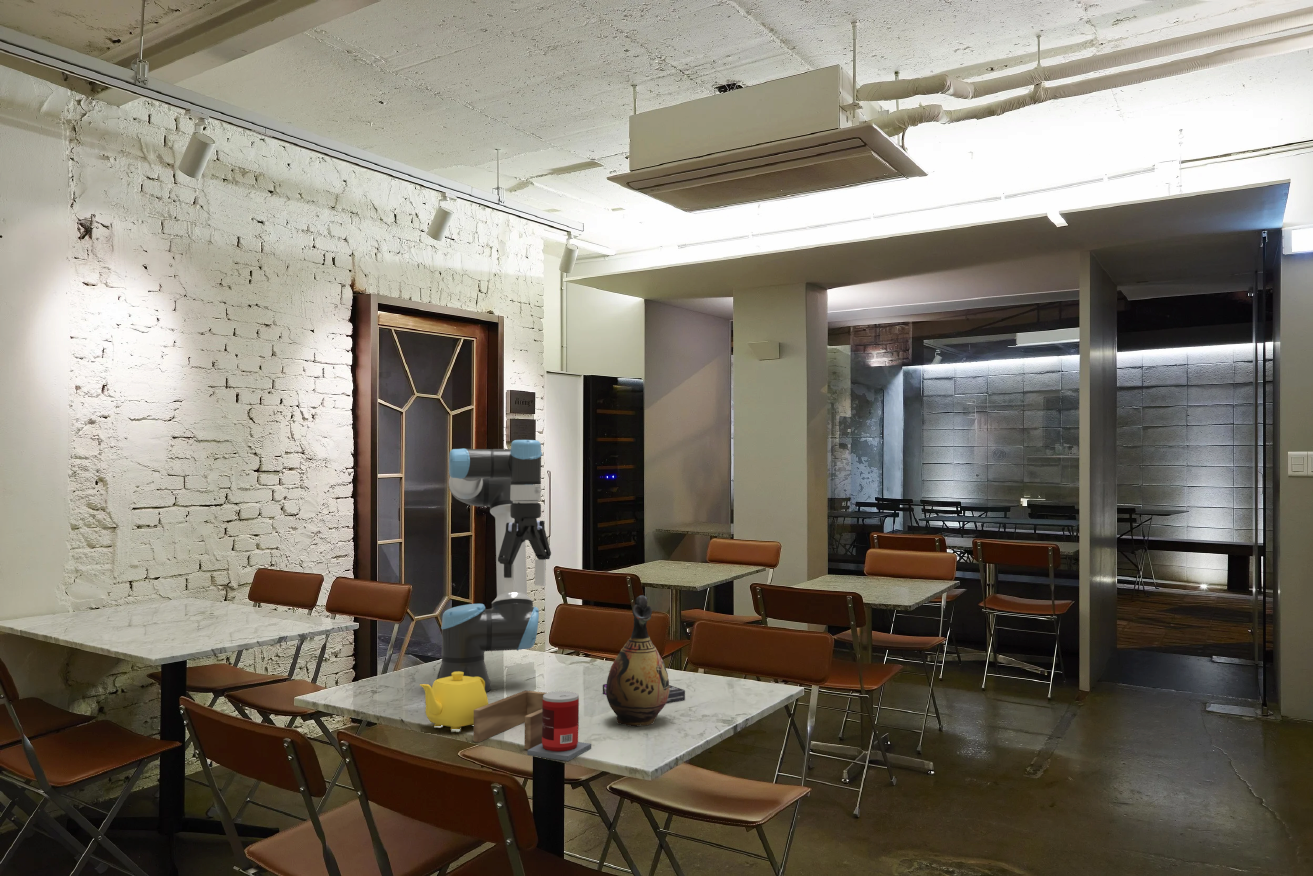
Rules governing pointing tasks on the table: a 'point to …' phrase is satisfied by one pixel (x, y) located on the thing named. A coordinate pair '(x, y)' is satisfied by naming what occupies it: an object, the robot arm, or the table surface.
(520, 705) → the shelf
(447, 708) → the teapot
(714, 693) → the table surface
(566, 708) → the canned food
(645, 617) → the ceramic jug
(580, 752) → the coaster
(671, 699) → the box
